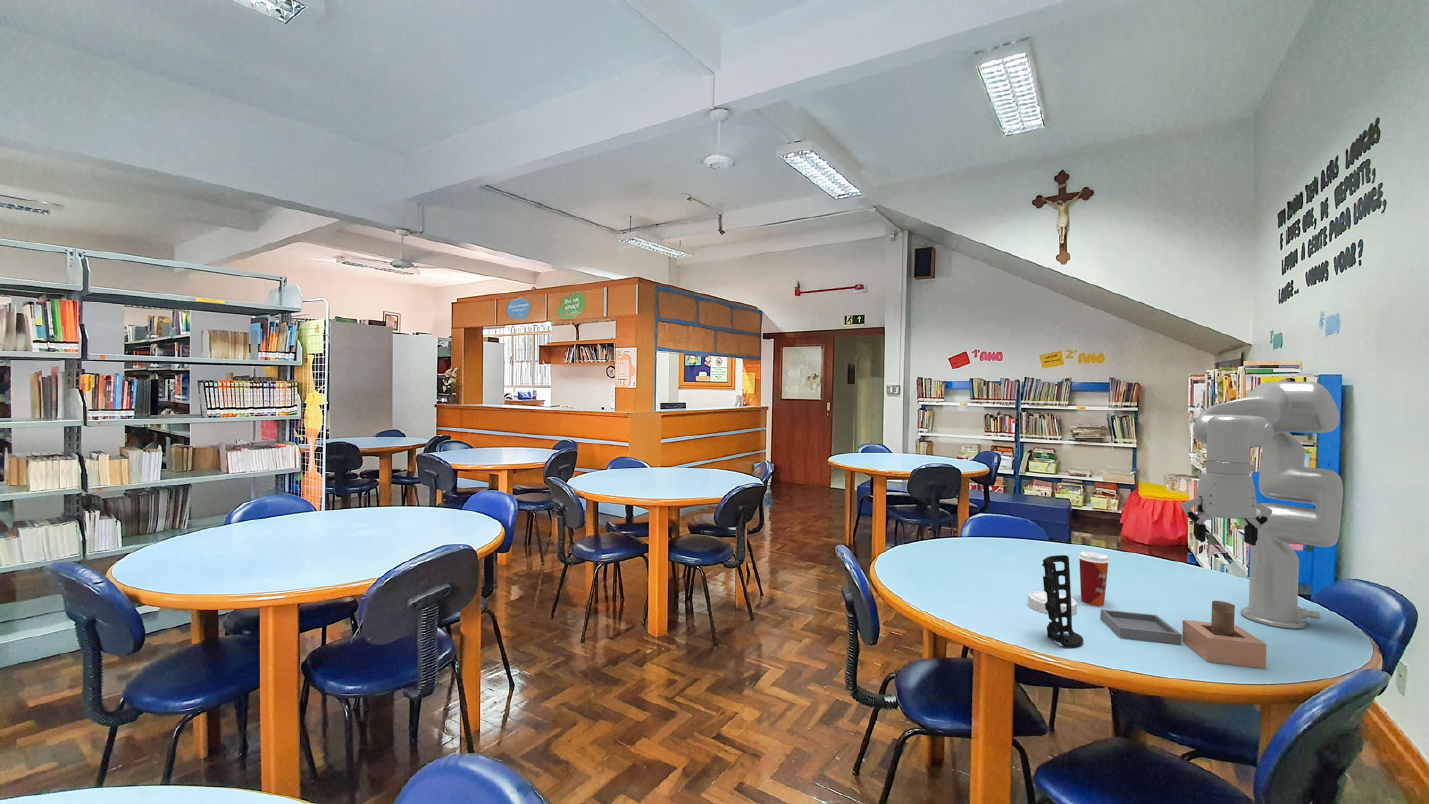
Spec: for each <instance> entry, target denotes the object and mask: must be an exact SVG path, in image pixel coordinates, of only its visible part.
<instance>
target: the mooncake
mask: <svg viewBox="0 0 1429 804" xmlns="http://www.w3.org/2000/svg"><path fill="white" fill-rule="evenodd" d="M1059 597H1060V598H1065V597H1066V594H1064V593H1060V592H1059ZM1054 599H1055V598H1054ZM1045 603H1047V593H1046V592H1045V591H1044V590H1039V591H1036V590H1035V591H1031V592H1030V593H1028V596H1027V604H1028V605H1027V606H1028V607H1029V608H1031V609H1033V610H1034V611H1036V612H1039V613H1042V614H1046V615H1048V611H1047V610H1046V609H1045ZM1071 610H1072V616H1076V614H1077V613H1078V602H1077V601H1076V600H1075V599H1074V598H1073V597H1071ZM1065 611H1066V604H1061V612H1065Z"/></svg>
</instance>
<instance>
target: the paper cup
mask: <svg viewBox="0 0 1429 804" xmlns="http://www.w3.org/2000/svg"><path fill="white" fill-rule="evenodd" d="M1077 558H1078V561H1079V578H1080V579H1079V582H1080V599H1081V602H1082V603H1083V604H1086V605H1091V606H1095V607H1099V606H1104V605H1105V600H1106V599H1105V598H1106V590H1107V582H1108V581H1107V579H1108V568H1109V563H1110V560H1109V557H1108V555H1106V554H1103V553H1099V552H1094V551H1082V552H1080V553H1079V555H1078V557H1077Z"/></svg>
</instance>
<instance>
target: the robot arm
mask: <svg viewBox="0 0 1429 804" xmlns="http://www.w3.org/2000/svg"><path fill="white" fill-rule="evenodd" d="M1339 422H1340V411H1339V408H1338V406H1337V404H1336V403H1335V401H1334V399H1333V396H1332V395H1331V393H1330V391H1328V389H1327V388H1326V387H1325V386H1323V385H1322V384H1320V383H1318V382H1313V381H1270V382H1269V381H1268V382H1264V383H1261V384H1258V385H1257V386H1255V387H1253V389H1251V391H1249V392H1248V393H1247V394H1246V395H1245V397H1243V398H1239V399H1234V400H1230V401H1226V402H1221V403H1218V404H1215V405H1211V406H1208V407H1207V408H1206V409H1204V410H1203V411H1202V412H1201V413H1200V414H1199V415H1198V416H1197V418H1196V419H1195V420H1194V424H1193V427H1192V432H1193V436H1194V438H1195V440H1196V441H1198V442H1199V443H1200V444H1203V445H1206V457H1205V459H1206V460H1205V461H1206V463H1205V472H1201V474H1200V476H1199V480H1198V484H1197V488H1196V495H1195V498H1193V499H1190V500H1187V501H1185V502H1182V503H1181V504H1180V507H1181V508H1182V511H1183V512H1184V514H1185V515H1186V516H1187V518H1189V520H1191V521H1190V522H1193V533H1192V534H1193V536H1194V539H1195V540H1197V541H1199V542H1201V543H1205V542H1206V537H1207V526H1206V524H1205V522H1206V521H1207V520H1208V519H1210V518H1215V519H1216V518H1217V519H1218V518H1219V519H1220V518H1221V519H1232V520H1233V519H1235V520H1243V521H1244V522H1245V524H1246V525H1244V528H1243V529H1244V530H1243V531H1244V532H1243V542H1244V543H1245V544H1247V545H1249V546H1250V551H1249V552H1250V554H1249V555H1250V557H1249V583H1248V585H1249V586H1248V587H1249V589H1248V591H1249V592H1248V606H1247V607H1243V608H1241V609H1240V613H1241V616H1243V617H1245V618H1247V619H1249V620H1250V621H1253V622H1257V623H1259V624H1264V625H1267V626H1271V627H1272V626H1273V627H1278V628H1283V629H1292V630H1293V629H1295V630H1296V629H1297V630H1299V629H1304V628H1305V627H1306V622H1305V620H1304V619H1306V618H1309V619H1316V620H1320V619H1321V613H1320V611H1316V610H1308V609H1306V608H1302V607H1299V605H1298V604H1299V601H1298V600H1299V598H1298V597H1299V571H1300V560H1299V557H1298V554H1297V553H1296V551H1295V550H1294V549H1293V548H1292V546H1290V545H1289V544H1288V543H1295V544H1296V543H1297V544H1300V545H1309V546H1312V547H1322V548H1330V547H1333V546H1335V545H1336V544H1337V543H1338V540H1339V537H1340V530H1341V521H1342V510H1343V509H1342V507H1343V499H1344V497H1343V496H1344V485H1343V479H1342V478H1341V476H1340V475H1339V474H1338V473H1337V472H1336V471H1334V470H1331V469H1328V468H1327V469H1326V468H1317V467H1306V466H1305V460H1306V449H1305V447H1304V445H1303V444H1302V443H1301V441H1300V440H1298V438H1296V437H1295V436H1294V435H1293V434H1291V433H1292V432H1294V433H1296V432H1297V433H1314V434H1325V433H1331V432H1333V431H1335V429H1337V427H1338V426H1339V424H1340V423H1339ZM1251 448H1261V460H1260V469H1259V475H1258V476H1259V478H1258V490H1259V492H1260V494H1261V495H1262V496H1264V497H1266V498H1269V499H1273V500H1277V501H1278V500H1279V501H1285V502H1286V501H1287V502H1292V503H1293V502H1294V503H1303V504H1309V505H1313V506H1314V507H1315V508H1308V507H1301V506H1295V505H1287V504H1281V503H1280V504H1278V503H1269V502H1268V503H1267V502H1265V503H1264V502H1262V503H1259V502H1257V497H1256V496H1257V495H1256V489H1255V484H1254V481H1253V480H1254V479H1253V476H1250V474H1251V472H1255V471H1256V470H1257V467H1256V466H1255V465H1252V464H1251V462H1250V453H1251V450H1250V449H1251ZM1192 508H1195V511H1196V512H1197V513H1195V512H1194V511H1193V509H1192Z"/></svg>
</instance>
